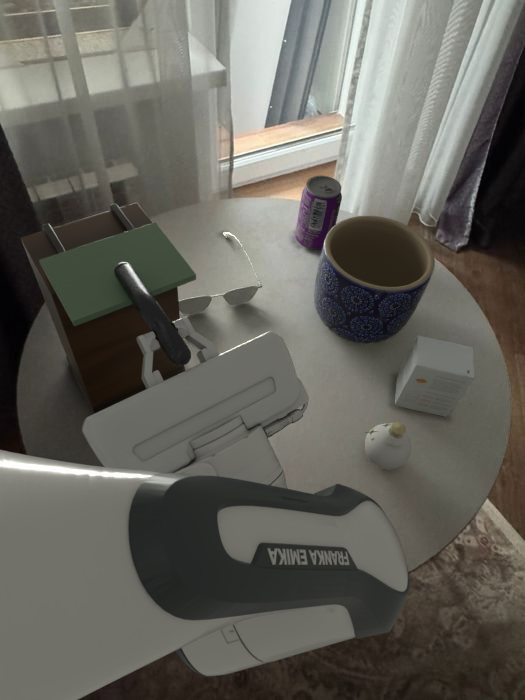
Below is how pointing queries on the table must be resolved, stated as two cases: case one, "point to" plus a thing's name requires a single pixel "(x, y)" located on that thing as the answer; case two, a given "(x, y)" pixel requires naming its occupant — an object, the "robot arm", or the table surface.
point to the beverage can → (318, 210)
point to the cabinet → (105, 331)
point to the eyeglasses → (230, 297)
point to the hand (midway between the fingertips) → (161, 327)
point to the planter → (371, 277)
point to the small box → (434, 376)
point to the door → (123, 281)
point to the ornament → (388, 445)
